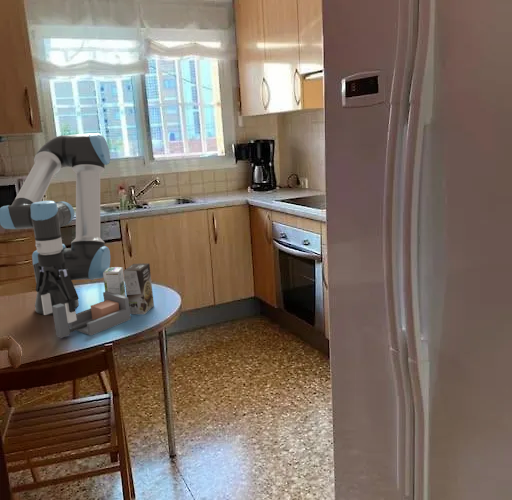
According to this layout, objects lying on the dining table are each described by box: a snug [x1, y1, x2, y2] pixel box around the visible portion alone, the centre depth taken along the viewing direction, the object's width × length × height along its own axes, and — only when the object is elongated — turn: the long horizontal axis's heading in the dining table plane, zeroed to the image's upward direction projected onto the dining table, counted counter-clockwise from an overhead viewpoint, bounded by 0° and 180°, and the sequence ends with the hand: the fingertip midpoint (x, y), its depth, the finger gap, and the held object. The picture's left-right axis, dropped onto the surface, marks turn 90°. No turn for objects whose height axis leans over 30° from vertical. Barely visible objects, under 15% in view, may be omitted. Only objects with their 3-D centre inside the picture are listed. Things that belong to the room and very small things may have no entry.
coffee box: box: [123, 262, 155, 316], centre depth 194 cm, size 9×6×16 cm
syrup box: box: [103, 266, 126, 296], centre depth 199 cm, size 6×6×14 cm
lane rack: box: [69, 291, 132, 336], centre depth 185 cm, size 12×16×8 cm
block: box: [52, 300, 119, 339], centre depth 181 cm, size 6×22×10 cm, turn 141°
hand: (60, 317), depth 173 cm, fingers open, 13 cm apart
